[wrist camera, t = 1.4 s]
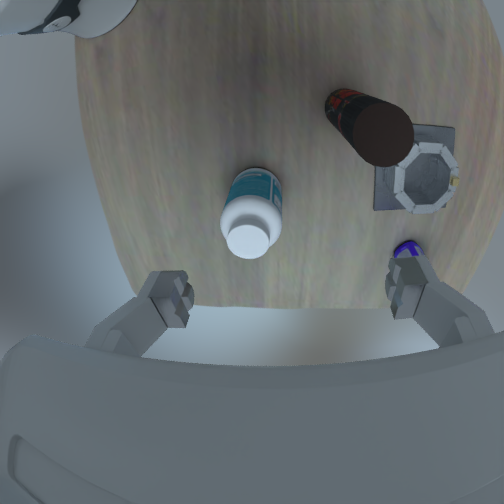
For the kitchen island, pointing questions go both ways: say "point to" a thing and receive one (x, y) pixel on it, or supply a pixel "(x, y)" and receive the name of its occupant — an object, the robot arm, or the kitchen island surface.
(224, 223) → the pill bottle
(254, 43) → the kitchen island surface
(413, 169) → the hub collar
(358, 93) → the deodorant
